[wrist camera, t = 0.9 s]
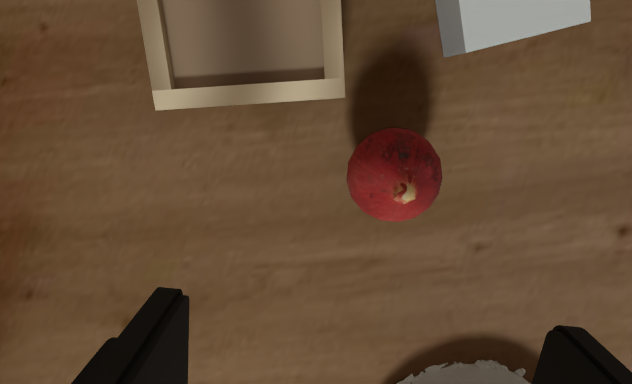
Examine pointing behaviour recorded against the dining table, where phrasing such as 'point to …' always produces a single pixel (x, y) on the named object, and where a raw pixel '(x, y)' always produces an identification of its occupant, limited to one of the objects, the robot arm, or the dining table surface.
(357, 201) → the pomegranate
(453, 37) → the grey block
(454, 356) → the dining table surface
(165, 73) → the wooden open box
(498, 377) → the grey round flat slab
